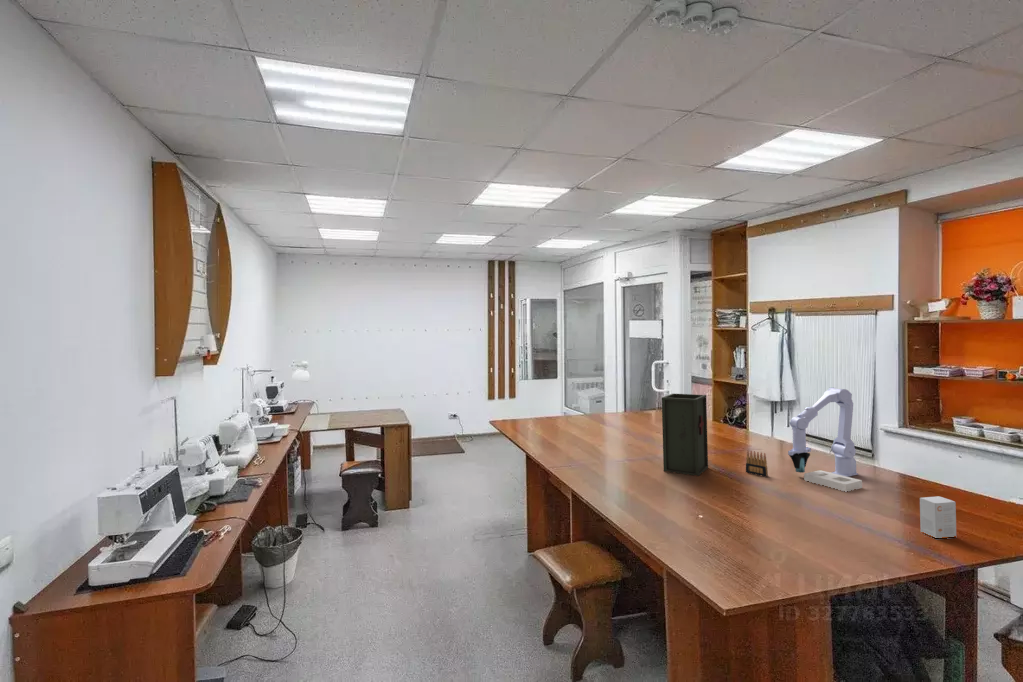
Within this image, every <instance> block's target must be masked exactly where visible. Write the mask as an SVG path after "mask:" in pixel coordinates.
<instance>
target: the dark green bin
mask: <svg viewBox="0 0 1023 682" xmlns="http://www.w3.org/2000/svg"><path fill="white" fill-rule="evenodd" d="M707 411H708V410H707V395H706V394H690V393H671V394H668V395H665V396H663V397H661V421H662V424H661V425H662V453H663V454H662V457H663V462H662V463H663V464H662V465H663V472H665V471H670V472H669V473H673V472H677V473H676V474H680V473H682V474H681V475H687V474H689V475H688V476H694V475H697V476H696V477H700V476H701V475H700V474H701V473H702V472H703V473H704V472H705V471H706V470H708V468H709V450H708V412H707ZM703 473H702V474H703Z"/></svg>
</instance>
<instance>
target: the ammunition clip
mask: <svg viewBox="0 0 1023 682" xmlns="http://www.w3.org/2000/svg"><path fill="white" fill-rule="evenodd" d="M767 462H768V461H767V454H766V453H765V452H764V453H763V452H762V451H761V452H760V453H759V451H752V450H750V451H749V449H747V450H746V462H745V473H746V472H748V474H751V473H752V475H755V474H757V475H756V476H760V475H762V477H765V476H766V477H768V476H769V472H768V466H767V465H768V463H767Z"/></svg>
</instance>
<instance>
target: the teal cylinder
mask: <svg viewBox="0 0 1023 682" xmlns="http://www.w3.org/2000/svg"><path fill="white" fill-rule="evenodd" d="M805 468H806V467H805V464H804V457H801V460H800V468H799V469H797V468H795V472H796V473H800V474H801V473H806V471H805V470H806V469H805Z"/></svg>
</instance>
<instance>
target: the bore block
mask: <svg viewBox="0 0 1023 682" xmlns="http://www.w3.org/2000/svg"><path fill="white" fill-rule="evenodd" d="M804 480H805V481H804ZM803 481H804V482H807V481H809V482H808V483H811V482H812V483H811V484H814V483H816V484H815V485H818V484H820V485H819V486H822V485H824V486H823V487H825V486H828V487H827V488H829V487H831V488H830V489H833V488H835V489H834V490H836V489H838V490H837V491H840V490H841V492H844V491H845V493H848V492H852V491H855V490H854V489H856V490H859V489H863V480H862V479H858V478H854V477H851V476H849V477H846V476H842V475H838V474H834V473H831V472H829V471H825V470H821V469H820V470H814V471H810V472H804V474H803ZM851 490H852V491H851ZM847 491H848V492H847Z"/></svg>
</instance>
